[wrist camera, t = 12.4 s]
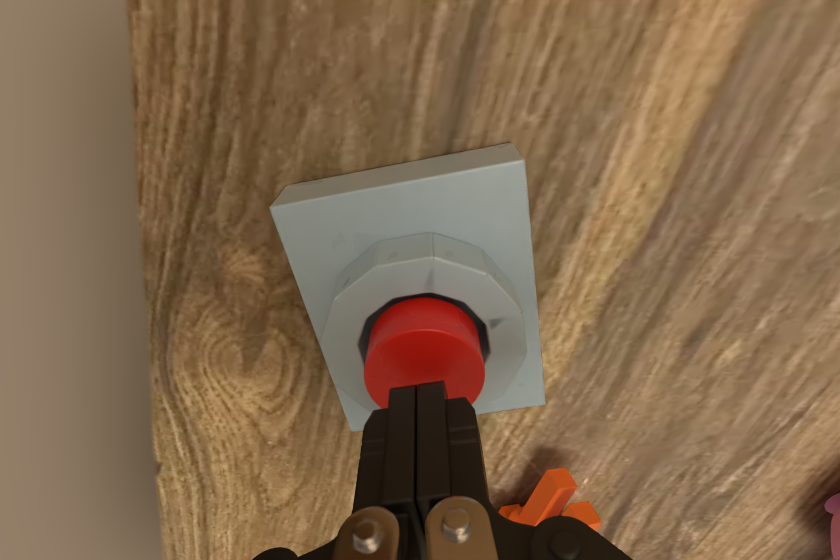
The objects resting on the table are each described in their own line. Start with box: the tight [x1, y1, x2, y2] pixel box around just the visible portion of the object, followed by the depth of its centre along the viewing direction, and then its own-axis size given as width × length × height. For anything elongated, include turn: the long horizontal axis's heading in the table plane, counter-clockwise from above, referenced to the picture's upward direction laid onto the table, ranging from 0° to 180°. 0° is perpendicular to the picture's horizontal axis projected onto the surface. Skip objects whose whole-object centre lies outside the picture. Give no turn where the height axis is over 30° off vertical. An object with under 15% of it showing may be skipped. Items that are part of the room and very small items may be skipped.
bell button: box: [364, 297, 485, 409], centre depth 15 cm, size 4×4×2 cm
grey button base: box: [270, 143, 546, 432], centre depth 17 cm, size 10×8×4 cm
